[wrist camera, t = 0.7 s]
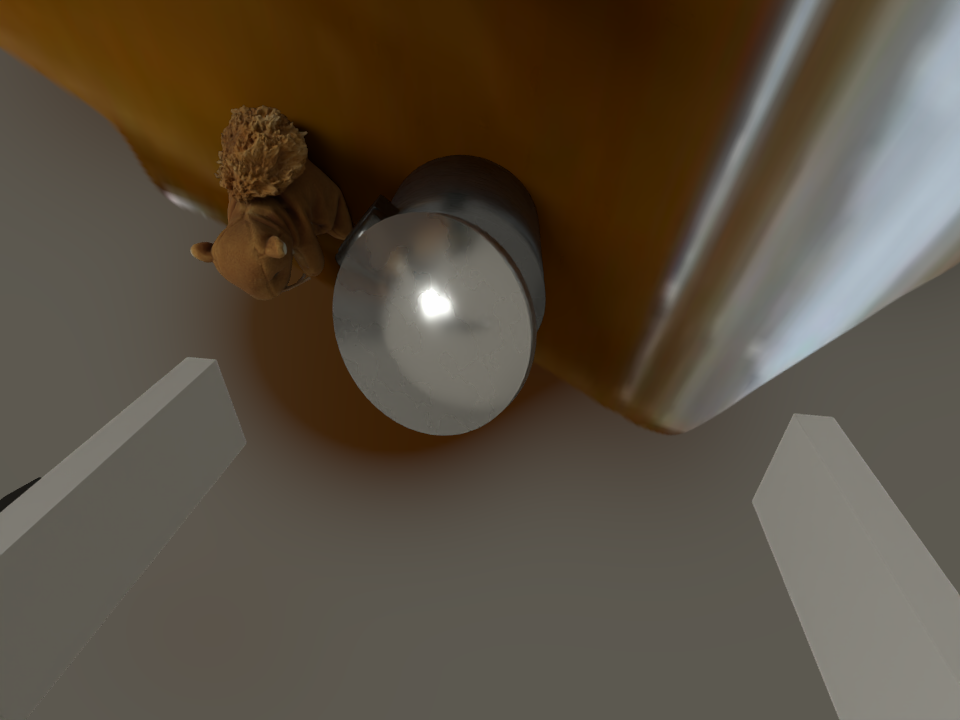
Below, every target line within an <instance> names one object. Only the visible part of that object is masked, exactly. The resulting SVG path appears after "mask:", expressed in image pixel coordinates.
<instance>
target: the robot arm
mask: <svg viewBox="0 0 960 720" xmlns="http://www.w3.org/2000/svg"><path fill="white" fill-rule="evenodd" d="M246 443H247V442H246V440H245V437H244V434H243V431H242V429H241V426H240V423H239V420H238V418H237V415H236V412H235V410H234V407H233V404H232V402H231V399H230V396H229V393H228V390H227V388H226V385H225V383H224V380H223V377H222V374H221V371H220V369H219V366H218V363H217V361H216V360H214V359H203V358H192V357H187V358H186V359H184V360H183V361H182V362H181V363H180V364H179V365H177V366H176V367H175V368H174V369H172V370H171V371H170V372H169V373H168V374H166V375H165V376H164V377H163V378H162V379H160V380H159V381H158V382H157V383H156V384H154V385H153V386H152V387H151V388H150V389H148V390H147V391H146V392H145V393H144V394H142V395H141V396H140V397H139V398H138V399H136V400H135V401H134V402H133V403H132V404H130V405H129V406H128V407H127V408H125V410H123V411H122V412H121V413H120V414H118V415H117V416H116V417H115V418H114V419H112V420H111V421H110V422H109V423H107V425H105V426H104V427H103V428H102V429H100V430H99V431H98V432H97V433H95V434H94V435H93V436H92V437H91V438H90V439H88V440H87V441H86V442H85V443H83V444H82V445H81V446H80V447H79V448H77V449H76V450H75V451H74V452H73V453H71V454H70V455H69V456H68V457H67V458H65V459H64V460H63V461H62V462H60V463H59V464H58V465H57V466H56V467H54V468H53V469H52V470H51V471H50V472H48V473H47V474H46V475H45V476H44V477H42V478H37V479H35V480H33V481H31V482H30V483H28V484H26V485H24V486H23V487H21V488H19V489H17V490H15V491H14V492H12V493H10V494H8V495H7V496H5V497H3V498H2V499H1V500H0V720H26V719H27V718H28V716H29V715H30V714H31V712H32V711H33V710H34V709H35V708H36V706H37V705H38V704H39V703H40V701H41V700H42V699H43V698H44V696H45V695H46V694H47V692H48V691H49V690H50V689H51V688H52V686H53V685H54V684H55V682H56V681H57V680H58V679H59V677H60V676H61V675H62V674H63V672H64V671H65V670H66V668H67V667H68V666H69V665H70V664H71V662H72V661H73V660H74V659H75V657H76V656H77V655H78V654H79V652H80V651H81V650H82V649H83V647H84V646H85V645H86V644H87V642H88V641H89V640H90V639H91V637H92V636H93V635H94V634H95V632H96V631H97V630H98V629H99V627H100V626H101V625H102V624H103V622H104V621H105V620H106V619H107V617H108V616H109V615H110V614H111V612H112V611H113V610H114V609H115V607H116V606H117V605H118V604H119V602H120V601H121V600H122V599H123V597H124V596H125V595H126V593H127V592H128V591H129V590H130V588H131V587H132V586H133V585H134V584H135V582H136V581H137V580H138V578H139V577H140V576H141V575H142V573H143V572H144V571H145V570H146V569H147V567H148V566H149V565H150V564H151V562H152V561H153V560H154V558H155V557H156V556H157V555H158V553H159V552H160V551H161V550H162V549H163V547H164V546H165V545H166V543H167V542H168V541H169V540H170V538H171V537H172V536H173V535H174V533H175V532H176V531H177V530H178V528H179V527H180V526H181V525H182V523H183V522H184V521H185V520H186V518H187V517H188V516H189V515H190V513H191V512H192V511H193V510H194V508H195V507H196V506H197V505H198V503H199V502H200V501H201V500H202V498H203V497H204V496H205V495H206V493H207V492H208V491H209V489H210V488H211V487H212V486H213V485H214V483H215V482H216V481H217V480H218V478H219V477H220V476H221V475H222V473H223V472H224V471H225V470H226V468H227V467H228V466H229V465H230V463H231V462H232V461H233V459H234V458H235V457H236V456H237V455H238V453H239V452H240V451H241V450H242V448H243V447H244V446H245V445H246ZM752 503H753V506H754V508H755V510H756V513H757V516H758V518H759V520H760V523H761V526H762V528H763V530H764V533H765V536H766V538H767V540H768V543H769V546H770V548H771V551H772V553H773V555H774V558H775V560H776V563H777V565H778V568H779V570H780V573H781V575H782V578H783V580H784V583H785V585H786V588H787V590H788V593H789V595H790V598H791V600H792V603H793V605H794V608H795V610H796V613H797V615H798V618H799V620H800V623H801V625H802V628H803V630H804V633H805V635H806V638H807V640H808V643H809V645H810V648H811V650H812V653H813V655H814V658H815V660H816V663H817V665H818V668H819V670H820V673H821V675H822V678H823V680H824V683H825V685H826V687H827V690H828V692H829V695H830V698H831V700H832V703H833V705H834V708H835V710H836V712H837V715H838V718H839V720H960V595H959V594H958V592H957V591H956V590H955V588H954V587H953V585H952V584H951V583H950V581H949V580H948V578H947V577H946V575H945V574H944V573H943V571H942V570H941V568H940V567H939V565H938V564H937V563H936V561H935V560H934V559H933V557H932V556H931V554H930V553H929V551H928V550H927V549H926V547H925V546H924V544H923V543H922V542H921V540H920V539H919V538H918V536H917V535H916V533H915V532H914V530H913V529H912V527H911V526H910V525H909V523H908V522H907V520H906V519H905V517H904V516H903V515H902V513H901V512H900V511H899V509H898V508H897V506H896V505H895V503H894V502H893V501H892V499H891V498H890V496H889V495H888V493H887V492H886V491H885V489H884V488H883V487H882V485H881V484H880V482H879V481H878V479H877V478H876V477H875V475H874V474H873V472H872V471H871V470H870V468H869V467H868V465H867V464H866V462H865V461H864V460H863V458H862V457H861V456H860V454H859V453H858V451H857V450H856V448H855V447H854V446H853V444H852V443H851V441H850V440H849V439H848V437H847V436H846V434H845V433H844V431H843V430H842V429H841V427H840V426H839V424H838V423H837V421H836V420H835V419H834V417H826V416H816V415H805V414H793V416H792V418H791V421H790V423H789V425H788V427H787V429H786V431H785V433H784V435H783V437H782V439H781V442H780V443H779V446H778V448H777V450H776V452H775V454H774V456H773V458H772V460H771V462H770V464H769V467H768V469H767V471H766V473H765V475H764V477H763V479H762V481H761V483H760V485H759V488H758V489H757V492H756V494H755V496H754V498H753V500H752Z"/></svg>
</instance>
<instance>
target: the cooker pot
mask: <svg viewBox="0 0 960 720" xmlns="http://www.w3.org/2000/svg"><path fill="white" fill-rule="evenodd" d="M374 209H376V210H379V211H381V212H382V213H384V214H385V215H386V216H387V217H388V218H389V217H391V216H394V215H397V214H403V213H409V212H437V213H444V214H450V215H453V216H456V217H459V218H462V219H464V220H467V221H469V222H471V223H473V224H475V225H477V226H478V227H480V228H481V229H482V230H484V231H485V232H487V233H488V234H490V235H491V236H492V237H493V238H494V239H495V240H496V241H497V242H498V243H500V244H501V246H502V247H503V248H504V249H505V250H506V251H507V253H508V254H509V255H510V256H511V258H512V259H513V261H514V262H515V264H516V265H517V267H518V268H519V270H520V272H521V274H522V276H523V278H524V280H525V282H526V284H527V287H528V290H529V292H530V295H531V298H532V302H533V307H534V311H535V318H536V329H537V331H538V329H539V327H540V325H541V322H542V319H543V315H544V310H545V285H544V274H543V264H542V253H541V242H540V232H539V222H538V216H537V212H536V208H535V205H534V203H533V201H532V199H531V196H530V195H529V193H528V191H527V190H526V188H525V187H524V186H523V185H522V183H521V182H520V181H519V180H518V179H517V178H516V177H515V176H514V175H513V174H512V173H510V172H509V171H508V170H506V169H505V168H503V167H502V166H500V165H498V164H496V163H494V162H492V161H489V160H486V159H483V158H480V157H475V156H469V155H453V156H445V157H441V158H437V159H434V160H432V161H429V162H427V163H425V164H423V165H422V166H420V167H418V168H417V169H416V170H414V171H413V172H412V173H411V174H410V175H409V176H408V177H407V178H406V179H405V180H404V181H403V182H402V184H401V185H400V186H399V188H398V190H397V192H396V193H395V195H394V197H393V199H392V201H391V202H390V201H388V200H387V199H386V198H385V197H384V196H383V195H380V196H379V197H378V198H377V200H376V201H375V202H374V203H373V205H372V206H371V207H370V208H369V210H368V211H367V212H366V213H365V214H364V216H363V217H362V218H361V219H360V221H359V222H358V223H357V224H356V225H355V227H354V228H353V229H352V230H351V232H350V233H349V234H348V235H347V237H346V238H345V240H344V241H343V243H342V245H341V246H340V248H339V249H338V250H339V251H340V249H341V248H342V247H343V246H344V245H345V243H346V242H347V241H348V240H349V239H350V237H351V236H352V235H353V234H354V232H355V231H356V230H357V229H358V228H359V226H360V225H361V224H362V223H363V221H364V220H365V219H366V218H367V217H368V215H369V214H370V213H371V212H372V211H373V210H374ZM536 333H537V332H536Z"/></svg>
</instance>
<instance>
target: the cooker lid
mask: <svg viewBox="0 0 960 720" xmlns="http://www.w3.org/2000/svg"><path fill="white" fill-rule="evenodd" d="M335 259H336V261H337V263H338V264H339V265H340V266H341V267H340V270H339V272H338V275H337V279H336V284H335V288H334V297H333V319H334V329H335V334H336V339H337V343H338V346H339V349H340V353H341V355H342V357H343V360H344V363H345V365H346V367H347V369H348V370H349V372H350V375H351V376H352V378H353V380H354V381H355V383H356V384H357V386H358V387H359V388H360V390H361V391H362V392H363V393H364V395H365V396H366V397H367V398H368V399H369V400H370V401H371V402H372V403H373V404H374V405H375V406H376V407H377V408H378V409H379V410H380V411H382V412H383V413H384V414H385V415H387V416H388V417H390V418H391V419H393V420H394V421H396V422H398V423H400V424H401V425H403V426H405V427H407V428H410V429H413V430H416V431H418V432H423V433H427V434H431V435H456V434H461V433H466V432H469V431H472V430H474V429H477V428H479V427H481V426H483V425H484V424H486V423H488V422H490V421H491V420H492V419H493V418H495V417H496V416H497V415H498V414H499V413H500V412H502V411H503V410H504V409H505V408H506V407H507V406H508V405H509V404H510V403H511V402H512V400H513V399H514V398H515V397H516V396H517V394H518V393H519V391H520V390H521V388H522V387H523V385H524V383H525V381H526V379H527V377H528V375H529V372H530V369H531V366H532V363H533V360H534V354H535V348H536V332H537V329H536V318H535V311H534V307H533V302H532V298H531V295H530V292H529V290H528V287H527V284H526V282H525V280H524V278H523V276H522V274H521V272H520V270H519V268H518V267H517V265H516V264H515V262H514V261H513V259H512V258H511V256H510V255H509V254H508V253H507V251H506V250H505V249H504V248H503V247H502V246H501V244H500V243H498V242H497V241H496V240H495V239H494V238H493V237H492V236H491V235H490V234H488V233H487V232H485V231H484V230H482V229H481V228H480V227H478V226H477V225H475V224H473V223H471V222H469V221H467V220H464V219H462V218H459V217H456V216H453V215H450V214H444V213H437V212H409V213H403V214H397V215H394V216H391V217H389V218H388V217H387V216H386V215H385V214H384V213H382V212H381V211H379V210H376V209H374V210H373V211H372V212H371V213H370V214H369V215H368V217H367V218H366V219H365V220H364V221H363V223H362V224H361V225H360V226H359V228H358V229H357V230H356V231H355V232H354V234H353V235H352V236H351V237H350V239H349V240H348V241H347V242H346V243H345V245H344V246H343V247H342V248H341V249H340V251H339V252H338V253H337V254H336V256H335Z"/></svg>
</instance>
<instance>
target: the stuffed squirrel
mask: <svg viewBox="0 0 960 720" xmlns="http://www.w3.org/2000/svg"><path fill="white" fill-rule="evenodd" d="M231 112H232V113H233V115H232V117H231V120H230V121H229V125H228V126H227V127H226V128H225V129H224V131H223V134H222V133H221V134H222V136H221V140H222V142H221V143H222V147H223V151H219V154H218V155H219V158H220V160H221V161H220V160H219V161H217V163H219V164H222V165H220V168H218V170H217V172H218V173H219V175H218V174H215V173H214V174H215V175H216V177H217V178H222V179H221V181H220V182H219V183H220V186H221V187H224V188H226V189H228V191H227V192H228V193H229V205H228V222H229V224H228V226H227V227H226V229H224V230H223V231H222V232H221V233H220V235H219V236H218V237H217V239H216V240H215V242H214V244H212V243H209V242H202V243H197V244H194V245H193V246H192V247H191V254H192V255H193V256H194V257H195V258H197V259H199V260H201V261H204V262H213V263H214V264H215V266H216V268H217V270H218V271H219V272H220V274H221V275H222V276H223V277H224V278H225V279H226V280H228V281H229V282H231V283H232V284H234V285H236V286H237V287H239V288H241V289H242V290H243V291H245V292H246V293H248V294H249V295H251V296H253V297H254V298H256V299H259V300H270V299H273V298H274V297H277V296H279V295H280V294H281V293H282V292H284V291H289V290H290V289H292V288H294V287H296V286H298V285H300V284H302V283H304V282H305V281H307V280H310V279H311V278H310V277H307V278H306V279H304V278H305V277H306V274H307V275H308V276H317V275H319V274H320V273H321V271H322V270H323V267H324V256H323V252H322V250H321V247H320V245H319V242H318V240H317V237H316V235H320V234H324V233H328V234H329V235H331V236H333V237H335V238H338V239H341V240H345V238H346V237H347V235H348V234H349V233H350V232H351V230H352V229H353V226H352V221H351V218H350V214H349V212H348V208H347V205H346V202H345V200H344V197H343V194H342V192H341V190H340V189H339V188H338V186H337V185H336V184H335V183H334V182H333V181H332V180H331V179H330V178H329V177H328V176H327V175H325V174H324V173H323V172H322V171H321V170H320V169H319V168H318V167H316V166H315V165H314V164H313V163H312V162H311V161H310V160H309V159H308V158H307V157H308V155H307V154H308V149H307V145H306V143H305V142H304V141H305V139H304V136H305V135H306V134H307V132H298V128H295V126H293V122H292V123H290V121H289V120H288V119H287V117H286V116H284V115H283V114H280V111H279V110H278V109H275V108H271V107H266V106H264V105H262V107H258V108H248V107H245V106H244V105H243V106H242V107H240V108H239V109H234V110H233V109H231ZM293 256H294V258H295V259H296V261H297V262H298V264H299V265H300V267H301V268H302V270H303V271H304V272H305V273H306V274H305V273H304V274H303V276H302V277H301V278H300V279H299V281H298V282H297V283H295V284H293V285H291V286H287V284H288V283H289V280H290V276H291V268H292V258H293ZM303 279H304V280H303ZM302 280H303V281H302ZM301 281H302V282H301ZM300 282H301V283H300Z"/></svg>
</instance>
